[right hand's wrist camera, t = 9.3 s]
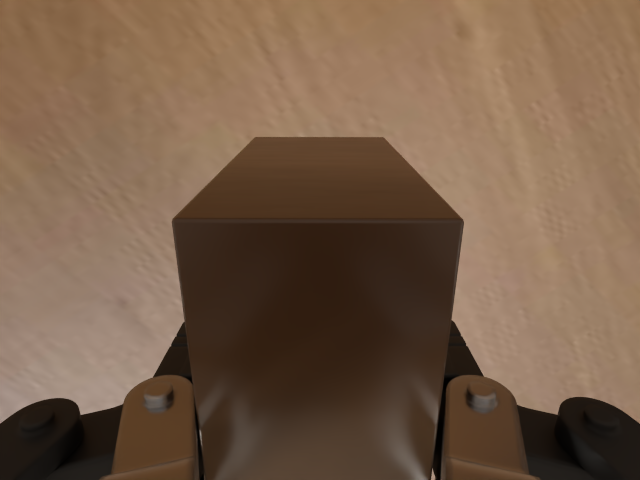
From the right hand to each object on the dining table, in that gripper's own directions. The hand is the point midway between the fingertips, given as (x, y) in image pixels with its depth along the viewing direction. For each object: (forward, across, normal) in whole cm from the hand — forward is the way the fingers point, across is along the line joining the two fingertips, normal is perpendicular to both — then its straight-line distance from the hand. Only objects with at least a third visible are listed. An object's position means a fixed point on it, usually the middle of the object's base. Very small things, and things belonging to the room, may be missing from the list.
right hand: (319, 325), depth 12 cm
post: (+4, 0, -33) cm, 33 cm away
